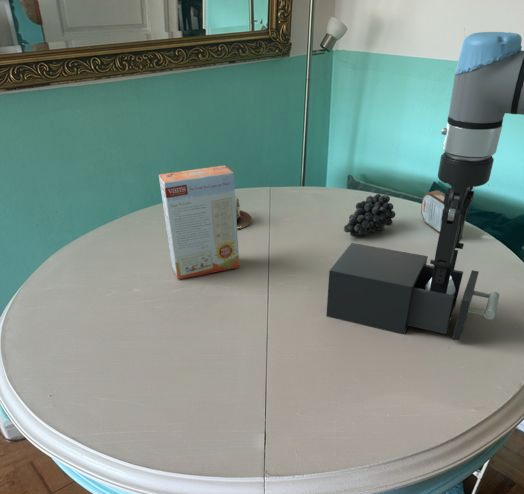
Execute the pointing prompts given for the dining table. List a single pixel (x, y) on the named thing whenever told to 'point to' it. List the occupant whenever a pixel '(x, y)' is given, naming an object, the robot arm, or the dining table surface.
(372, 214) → the fruit
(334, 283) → the drawer cabinet casing
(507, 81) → the robot arm
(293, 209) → the dining table surface
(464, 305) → the grey drawer
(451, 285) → the white jar
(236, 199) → the skull
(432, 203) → the tin
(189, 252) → the cracker box
